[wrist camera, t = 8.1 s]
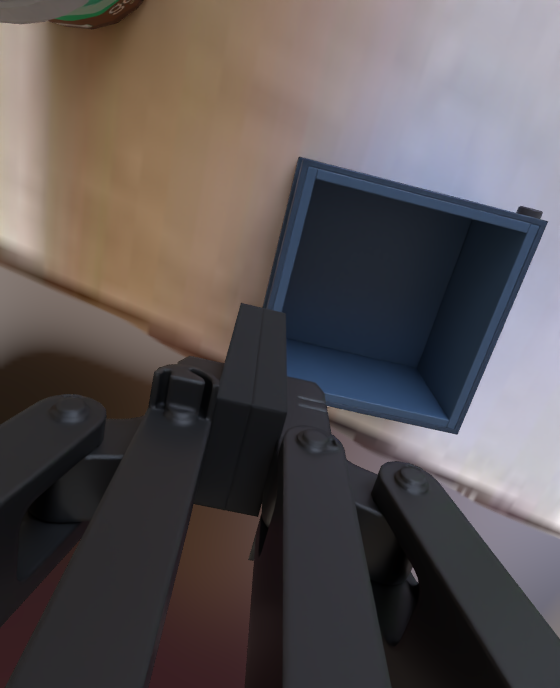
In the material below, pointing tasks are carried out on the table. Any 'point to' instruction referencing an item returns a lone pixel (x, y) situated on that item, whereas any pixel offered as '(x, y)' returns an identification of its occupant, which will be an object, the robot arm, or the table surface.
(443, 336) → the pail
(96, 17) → the food container
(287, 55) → the table surface
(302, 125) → the table surface
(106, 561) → the robot arm
